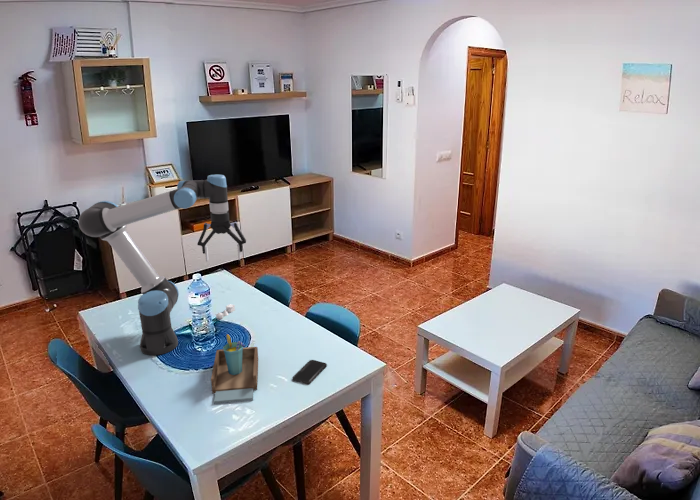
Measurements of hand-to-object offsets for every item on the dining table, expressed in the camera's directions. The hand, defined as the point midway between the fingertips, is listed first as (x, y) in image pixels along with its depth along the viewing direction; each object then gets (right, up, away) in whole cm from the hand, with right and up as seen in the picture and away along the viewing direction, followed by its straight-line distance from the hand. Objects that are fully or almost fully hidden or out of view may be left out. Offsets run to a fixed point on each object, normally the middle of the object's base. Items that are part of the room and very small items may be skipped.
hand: (223, 259), depth 220 cm
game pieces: (-5, -27, +25) cm, 38 cm away
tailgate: (+13, -48, -35) cm, 60 cm away
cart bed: (+11, -44, -25) cm, 52 cm away
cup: (+11, -43, -25) cm, 51 cm away
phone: (+39, -44, -23) cm, 63 cm away
